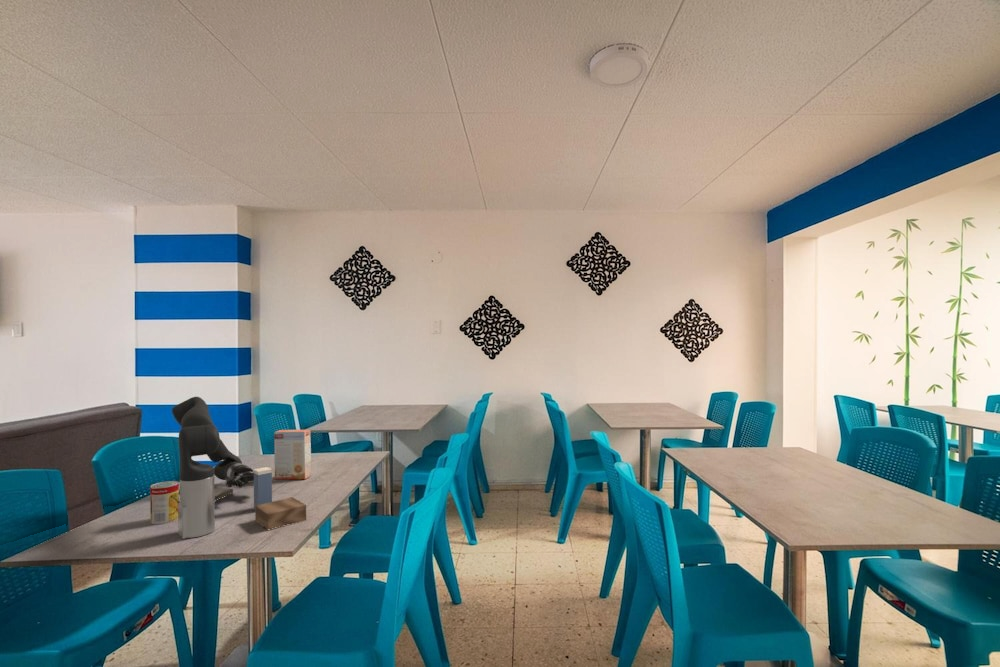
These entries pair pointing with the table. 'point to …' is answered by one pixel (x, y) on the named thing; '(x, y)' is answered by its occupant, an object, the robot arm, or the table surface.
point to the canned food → (164, 502)
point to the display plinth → (280, 513)
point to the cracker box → (292, 454)
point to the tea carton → (262, 486)
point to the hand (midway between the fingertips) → (253, 482)
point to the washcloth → (220, 493)
